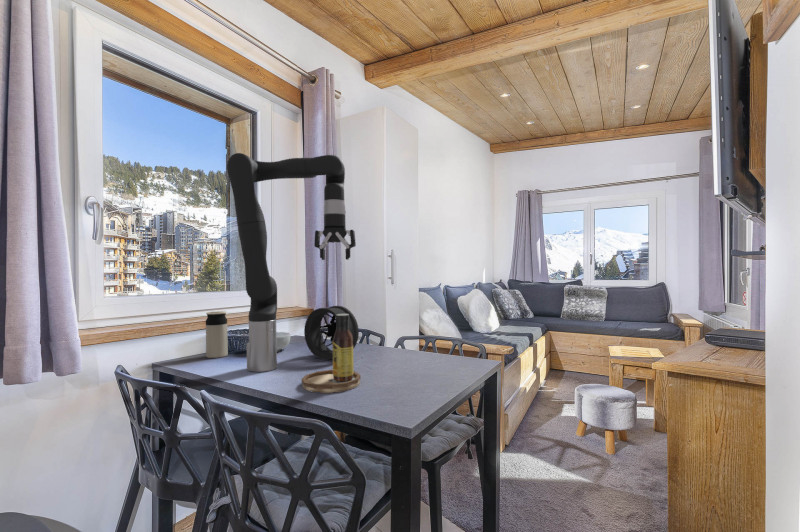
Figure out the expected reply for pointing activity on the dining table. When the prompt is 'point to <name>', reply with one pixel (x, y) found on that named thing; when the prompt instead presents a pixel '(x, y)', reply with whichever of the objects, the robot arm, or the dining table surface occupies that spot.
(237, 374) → the dining table surface
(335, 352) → the sauce bottle
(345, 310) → the wheel rim
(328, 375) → the brown round tray
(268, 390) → the dining table surface
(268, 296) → the robot arm
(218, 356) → the travel mug
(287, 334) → the cereal bowl
